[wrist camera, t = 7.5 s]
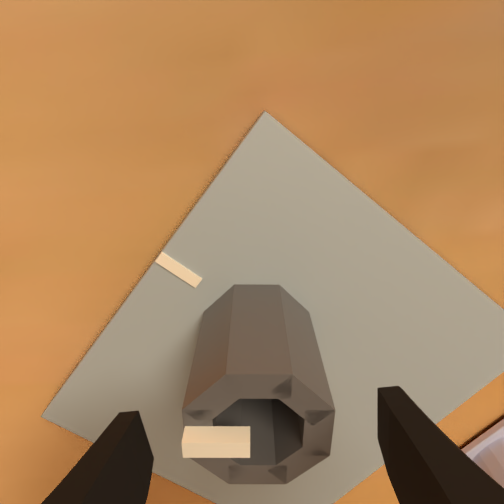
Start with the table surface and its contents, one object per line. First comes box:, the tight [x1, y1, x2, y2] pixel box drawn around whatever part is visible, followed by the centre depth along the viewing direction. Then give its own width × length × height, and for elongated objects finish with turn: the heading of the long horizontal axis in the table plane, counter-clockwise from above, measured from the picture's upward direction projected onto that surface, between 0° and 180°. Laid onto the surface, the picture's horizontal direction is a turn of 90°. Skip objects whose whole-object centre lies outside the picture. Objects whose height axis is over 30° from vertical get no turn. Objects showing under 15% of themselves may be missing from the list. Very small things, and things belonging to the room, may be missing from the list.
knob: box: [181, 284, 336, 484], centre depth 14 cm, size 5×5×6 cm
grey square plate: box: [41, 110, 504, 504], centre depth 17 cm, size 16×18×4 cm
